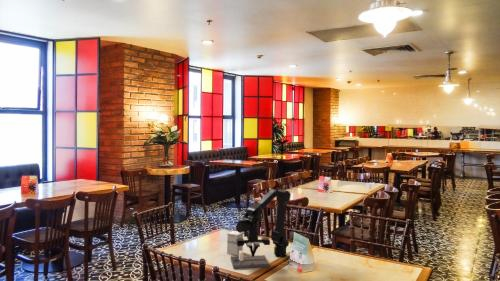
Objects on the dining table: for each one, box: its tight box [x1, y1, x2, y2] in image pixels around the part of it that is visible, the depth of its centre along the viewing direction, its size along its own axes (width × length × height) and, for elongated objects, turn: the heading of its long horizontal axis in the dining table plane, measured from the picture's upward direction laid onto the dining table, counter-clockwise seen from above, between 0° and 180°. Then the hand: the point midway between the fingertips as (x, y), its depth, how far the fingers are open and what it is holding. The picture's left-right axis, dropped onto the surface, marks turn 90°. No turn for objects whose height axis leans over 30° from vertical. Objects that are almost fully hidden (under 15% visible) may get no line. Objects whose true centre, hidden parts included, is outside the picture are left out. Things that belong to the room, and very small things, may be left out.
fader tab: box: [238, 251, 245, 261], centre depth 219 cm, size 2×4×5 cm, turn 9°
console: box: [230, 254, 270, 270], centre depth 220 cm, size 20×14×2 cm
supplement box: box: [226, 230, 244, 256], centre depth 237 cm, size 7×7×13 cm
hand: (252, 256), depth 220 cm, fingers closed
